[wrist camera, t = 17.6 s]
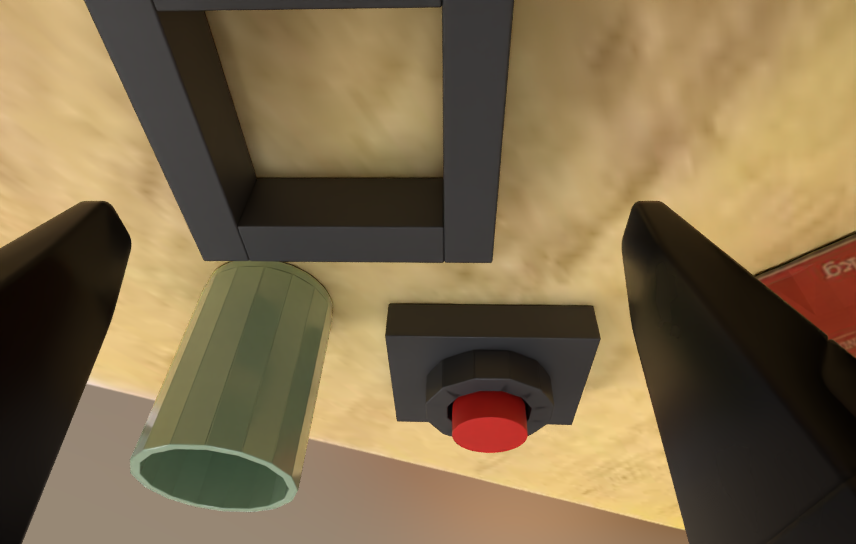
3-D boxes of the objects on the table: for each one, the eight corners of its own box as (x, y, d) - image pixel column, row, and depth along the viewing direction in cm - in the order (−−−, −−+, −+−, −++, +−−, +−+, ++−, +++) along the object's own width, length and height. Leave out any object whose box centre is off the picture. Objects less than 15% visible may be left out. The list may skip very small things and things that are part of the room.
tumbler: (321, 258, 27) (276, 447, 20) (341, 339, 32) (309, 514, 25) (188, 257, 28) (99, 443, 21) (228, 338, 32) (166, 510, 26)
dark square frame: (512, -107, 16) (520, -76, 14) (489, 213, 25) (492, 263, 23) (105, -98, 16) (52, -66, 14) (225, 212, 25) (203, 261, 23)
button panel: (593, 305, 29) (607, 369, 26) (567, 394, 36) (576, 452, 33) (388, 303, 30) (381, 365, 27) (399, 391, 36) (394, 448, 33)
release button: (528, 388, 29) (531, 418, 27) (521, 425, 32) (523, 454, 30) (452, 386, 29) (452, 416, 28) (452, 423, 32) (451, 452, 30)
